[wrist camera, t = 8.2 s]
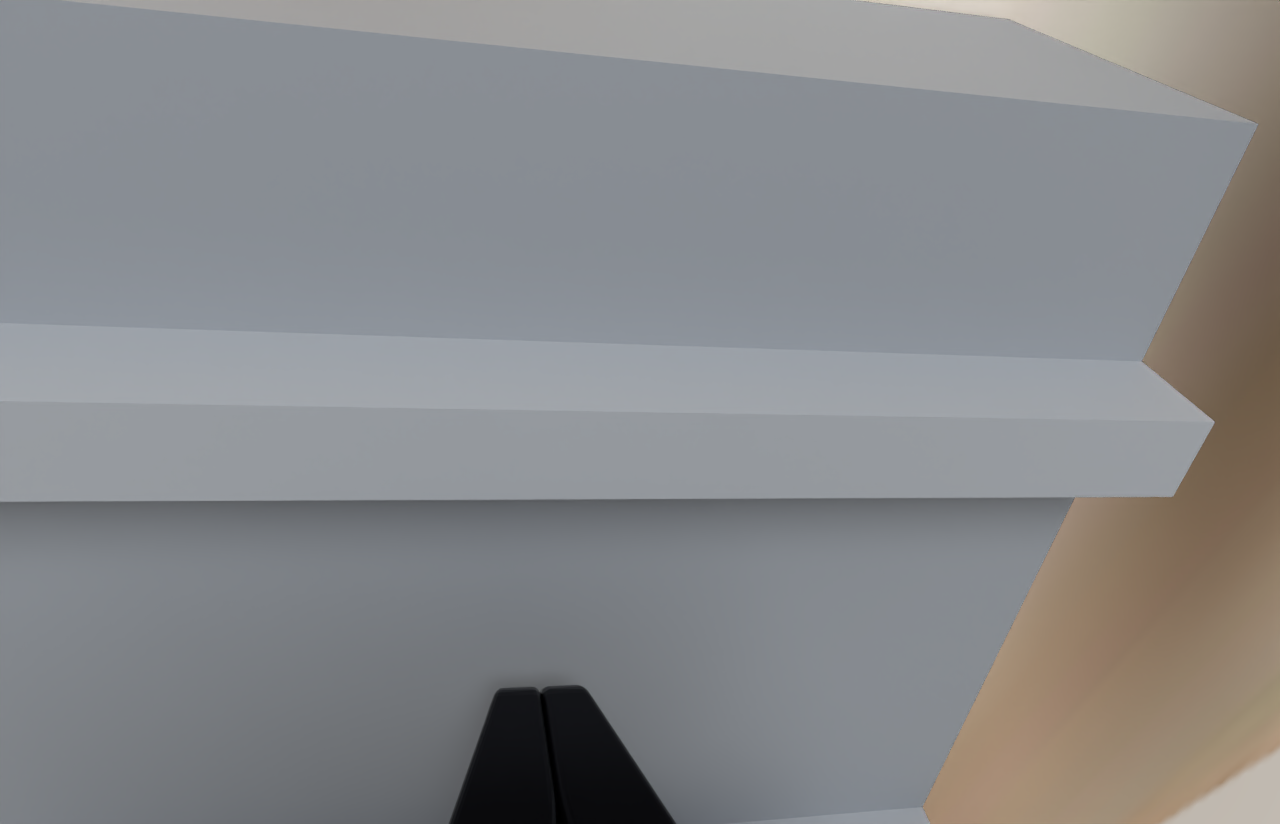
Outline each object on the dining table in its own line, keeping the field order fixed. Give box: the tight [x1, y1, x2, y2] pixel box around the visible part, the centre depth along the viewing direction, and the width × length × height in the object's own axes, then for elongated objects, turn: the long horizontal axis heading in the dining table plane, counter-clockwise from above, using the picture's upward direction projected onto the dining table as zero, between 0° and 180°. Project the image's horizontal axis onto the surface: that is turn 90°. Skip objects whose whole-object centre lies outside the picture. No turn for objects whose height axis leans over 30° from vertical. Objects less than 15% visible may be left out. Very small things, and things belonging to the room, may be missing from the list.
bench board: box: [0, 0, 1258, 824], centre depth 11 cm, size 11×12×5 cm
